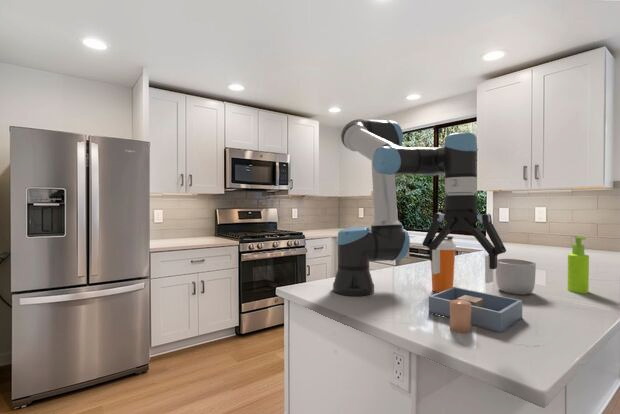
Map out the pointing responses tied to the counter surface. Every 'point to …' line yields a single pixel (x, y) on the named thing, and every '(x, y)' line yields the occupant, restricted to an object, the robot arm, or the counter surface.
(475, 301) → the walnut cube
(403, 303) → the counter surface
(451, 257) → the shaker bottle
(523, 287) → the planter
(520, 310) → the tote
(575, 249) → the soap dispenser
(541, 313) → the counter surface
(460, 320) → the peach capsule pill
